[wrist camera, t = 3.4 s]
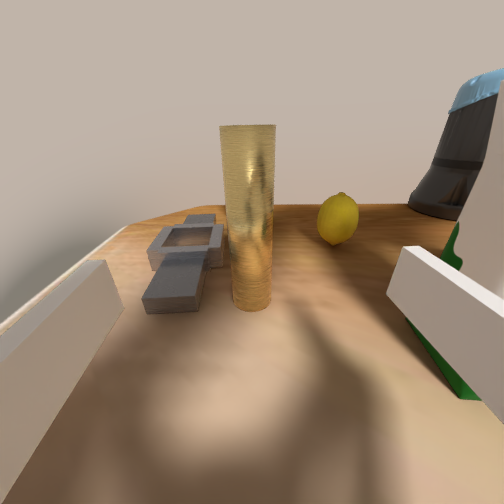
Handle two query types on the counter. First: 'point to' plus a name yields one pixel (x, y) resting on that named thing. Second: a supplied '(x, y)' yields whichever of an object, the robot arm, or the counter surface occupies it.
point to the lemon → (337, 218)
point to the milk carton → (478, 237)
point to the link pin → (249, 210)
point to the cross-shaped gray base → (183, 264)
